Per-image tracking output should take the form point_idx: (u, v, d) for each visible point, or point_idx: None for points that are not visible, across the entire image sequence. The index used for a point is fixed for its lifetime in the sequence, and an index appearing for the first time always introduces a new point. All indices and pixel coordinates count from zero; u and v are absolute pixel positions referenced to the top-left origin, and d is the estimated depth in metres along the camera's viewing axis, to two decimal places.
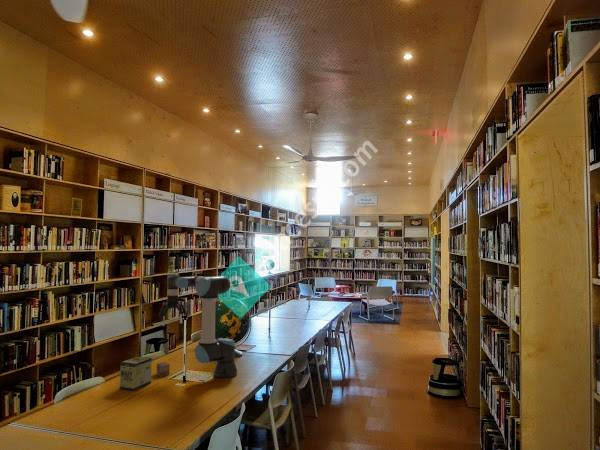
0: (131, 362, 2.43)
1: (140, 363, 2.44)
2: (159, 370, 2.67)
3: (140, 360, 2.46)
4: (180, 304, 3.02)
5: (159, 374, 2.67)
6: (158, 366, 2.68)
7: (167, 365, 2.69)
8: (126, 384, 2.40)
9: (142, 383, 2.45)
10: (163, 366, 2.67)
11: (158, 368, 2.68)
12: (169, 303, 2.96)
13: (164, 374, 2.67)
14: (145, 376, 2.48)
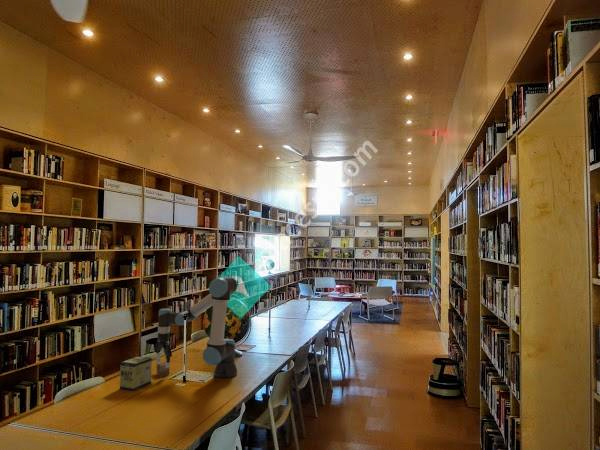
0: (131, 362, 2.43)
1: (140, 363, 2.44)
2: (159, 370, 2.67)
3: (140, 360, 2.46)
4: None
5: (159, 374, 2.67)
6: (158, 366, 2.68)
7: None
8: (126, 384, 2.40)
9: (142, 383, 2.45)
10: (163, 366, 2.67)
11: (158, 368, 2.68)
12: (160, 340, 2.72)
13: (164, 374, 2.67)
14: (145, 376, 2.48)
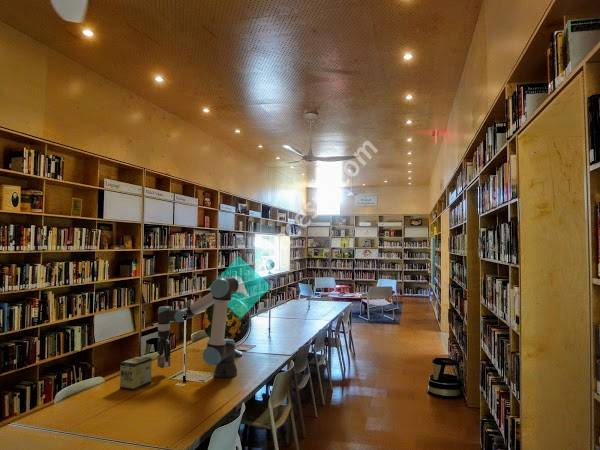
0: (131, 362, 2.43)
1: (140, 363, 2.44)
2: (160, 361, 2.67)
3: (140, 360, 2.46)
4: None
5: (160, 366, 2.67)
6: (159, 358, 2.69)
7: (168, 356, 2.69)
8: (126, 384, 2.40)
9: (142, 383, 2.45)
10: None
11: (159, 359, 2.68)
12: (160, 338, 2.72)
13: None
14: (145, 376, 2.48)
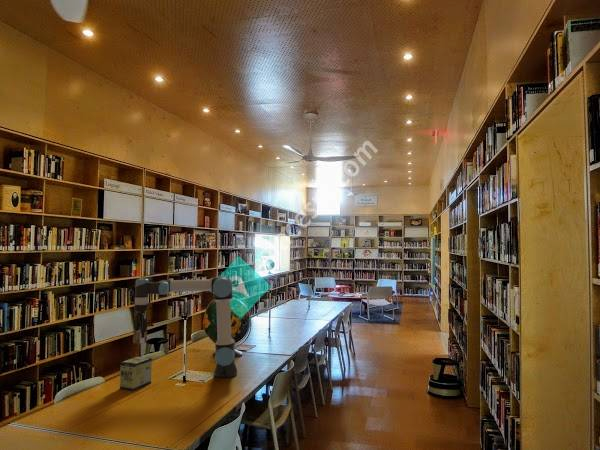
0: (131, 362, 2.43)
1: (140, 363, 2.44)
2: (136, 337, 2.49)
3: (140, 361, 2.46)
4: None
5: (135, 341, 2.49)
6: (135, 333, 2.50)
7: None
8: (126, 384, 2.40)
9: (142, 383, 2.45)
10: None
11: (135, 335, 2.50)
12: (137, 313, 2.54)
13: None
14: (145, 376, 2.48)
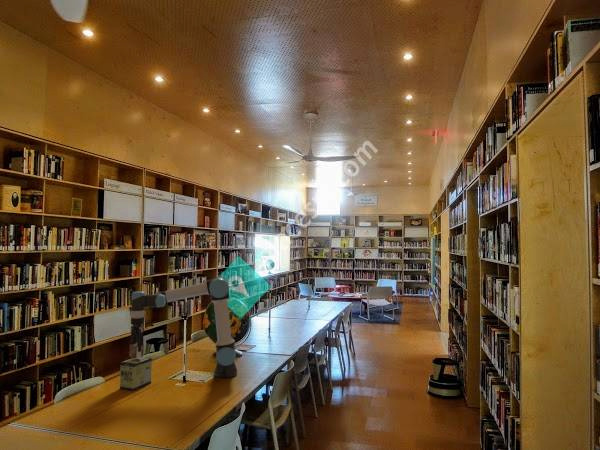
0: (131, 362, 2.43)
1: (140, 363, 2.44)
2: (132, 351, 2.45)
3: (140, 360, 2.46)
4: None
5: (132, 355, 2.45)
6: (131, 347, 2.47)
7: None
8: (126, 384, 2.40)
9: (142, 383, 2.45)
10: (136, 347, 2.46)
11: (131, 349, 2.47)
12: (133, 326, 2.51)
13: None
14: (145, 376, 2.48)
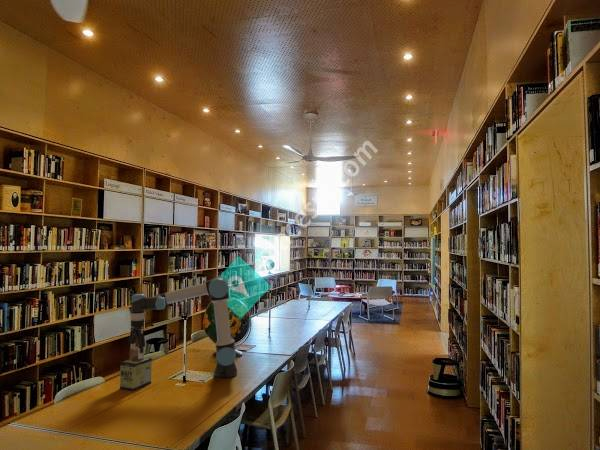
0: (131, 362, 2.43)
1: (140, 363, 2.44)
2: (132, 354, 2.45)
3: (140, 361, 2.46)
4: None
5: (132, 359, 2.45)
6: (131, 350, 2.47)
7: None
8: (126, 384, 2.40)
9: (142, 383, 2.45)
10: (136, 350, 2.46)
11: (131, 352, 2.47)
12: (133, 328, 2.51)
13: (137, 359, 2.46)
14: (145, 376, 2.48)
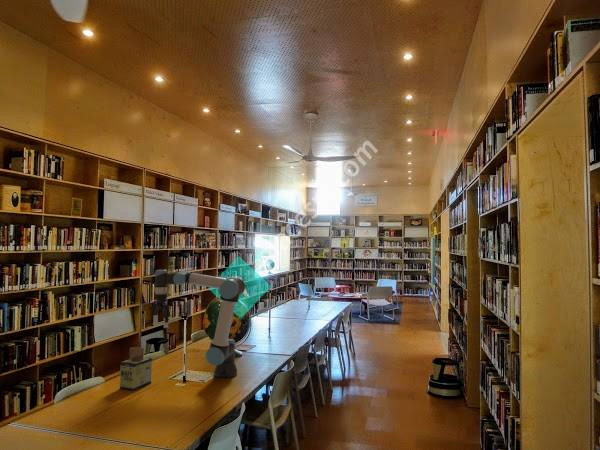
0: (131, 362, 2.43)
1: (140, 363, 2.44)
2: (132, 354, 2.45)
3: (140, 361, 2.46)
4: None
5: (132, 359, 2.45)
6: (131, 350, 2.47)
7: (141, 349, 2.47)
8: (126, 384, 2.40)
9: (142, 383, 2.45)
10: (136, 350, 2.46)
11: (131, 352, 2.47)
12: (157, 302, 2.69)
13: (137, 359, 2.46)
14: (145, 376, 2.48)
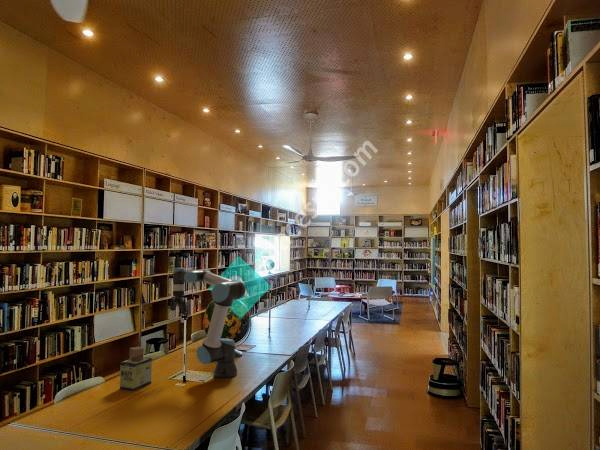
0: (131, 362, 2.43)
1: (140, 363, 2.44)
2: (132, 354, 2.45)
3: (140, 361, 2.46)
4: None
5: (132, 359, 2.45)
6: (131, 350, 2.47)
7: (141, 349, 2.47)
8: (126, 384, 2.40)
9: (142, 383, 2.45)
10: (136, 350, 2.46)
11: (131, 352, 2.47)
12: (175, 298, 2.85)
13: (137, 359, 2.46)
14: (145, 376, 2.48)
